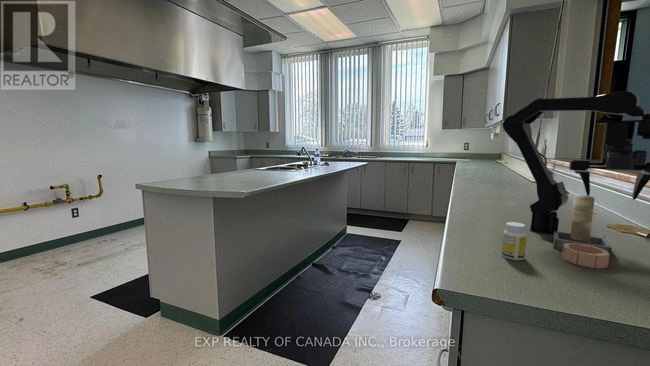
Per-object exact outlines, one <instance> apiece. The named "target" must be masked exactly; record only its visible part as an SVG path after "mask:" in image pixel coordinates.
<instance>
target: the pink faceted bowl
mask: <svg viewBox="0 0 650 366" xmlns="http://www.w3.org/2000/svg"><path fill="white" fill-rule="evenodd" d="M561 256H562V260H564V261H566V262H569V263H570V264H573V265H576V266H581V267H584V268H585V267H586V268H592V269H604V268H606V269H607V268H609V261H610V260H609V259H610V257H609V253H608V251H606V250H604V249H601V248H598V247H595V246H591V245H585V244H579V243H566V244H564V245H563V250H562V254H561Z"/></svg>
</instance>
